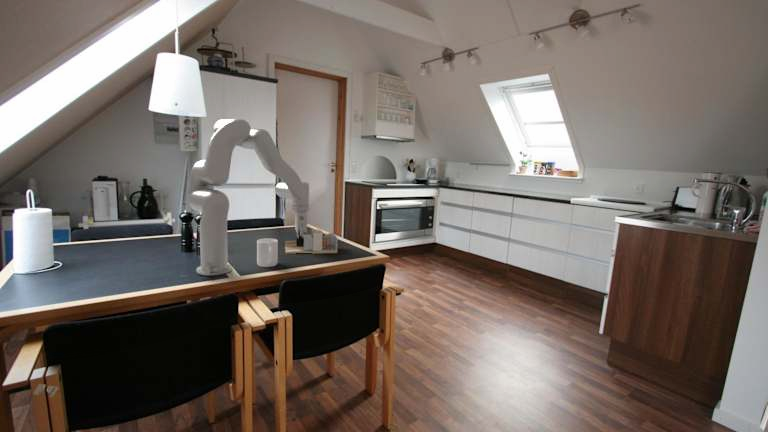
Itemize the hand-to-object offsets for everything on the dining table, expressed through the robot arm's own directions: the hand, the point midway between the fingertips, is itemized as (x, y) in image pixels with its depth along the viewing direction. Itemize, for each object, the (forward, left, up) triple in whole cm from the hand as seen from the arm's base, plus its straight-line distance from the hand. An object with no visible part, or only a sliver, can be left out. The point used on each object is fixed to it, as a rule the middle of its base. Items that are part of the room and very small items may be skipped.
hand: (299, 245), depth 176 cm
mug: (-21, +15, -3) cm, 26 cm away
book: (-1, -8, -2) cm, 8 cm away
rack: (0, -5, -3) cm, 6 cm away
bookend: (0, -4, -1) cm, 4 cm away
